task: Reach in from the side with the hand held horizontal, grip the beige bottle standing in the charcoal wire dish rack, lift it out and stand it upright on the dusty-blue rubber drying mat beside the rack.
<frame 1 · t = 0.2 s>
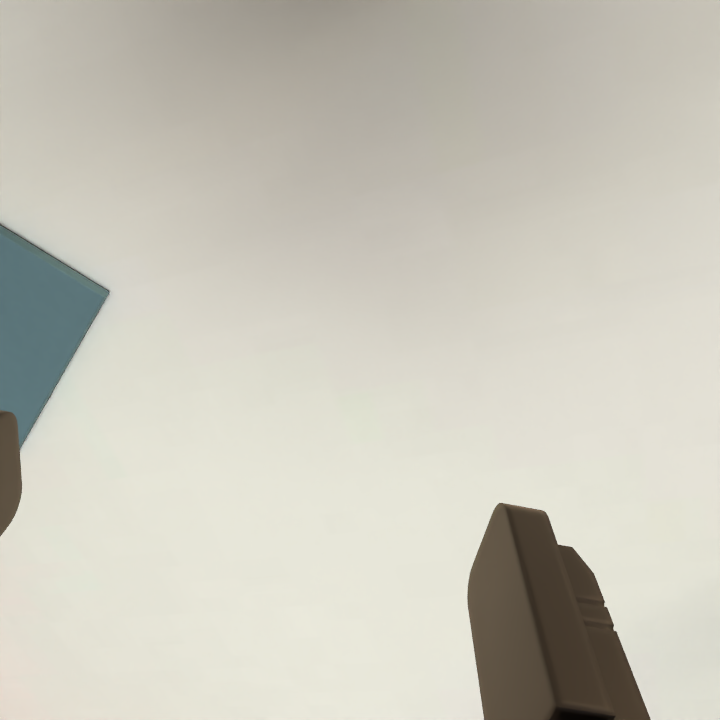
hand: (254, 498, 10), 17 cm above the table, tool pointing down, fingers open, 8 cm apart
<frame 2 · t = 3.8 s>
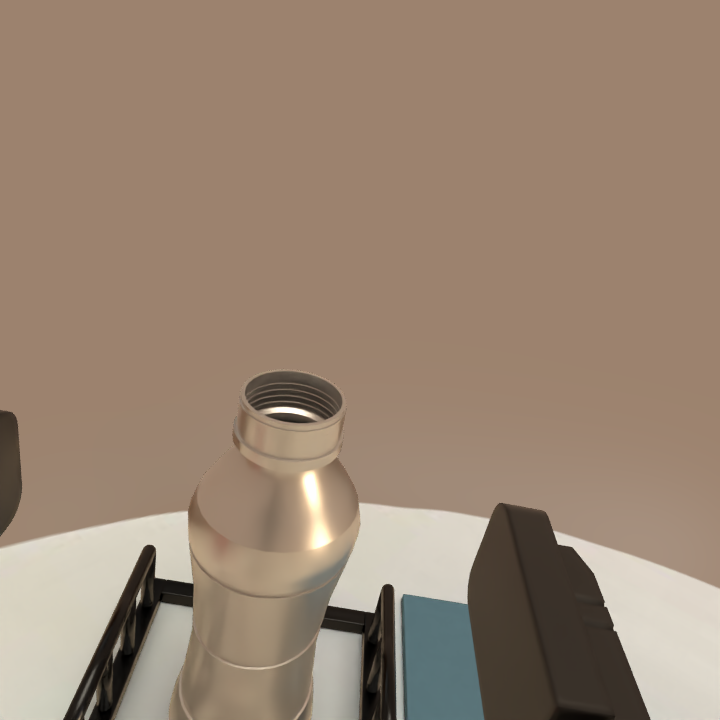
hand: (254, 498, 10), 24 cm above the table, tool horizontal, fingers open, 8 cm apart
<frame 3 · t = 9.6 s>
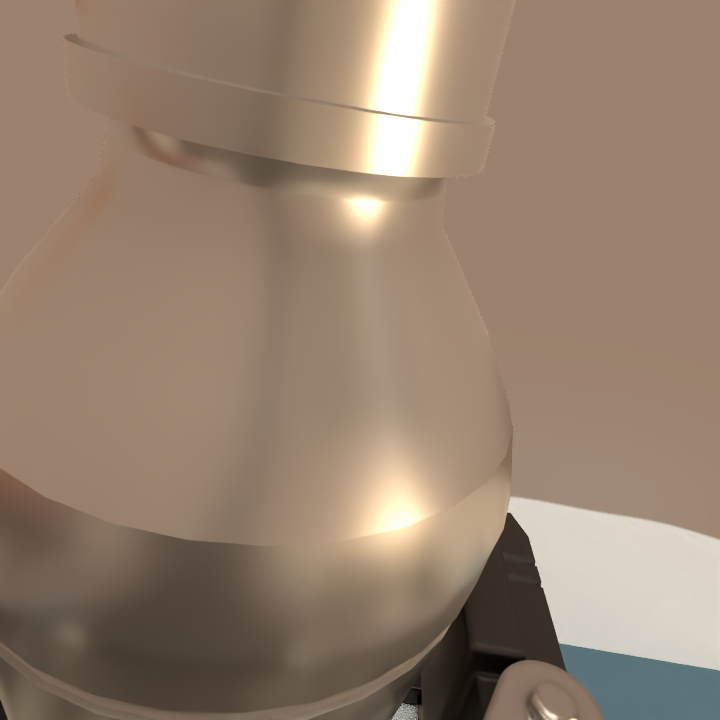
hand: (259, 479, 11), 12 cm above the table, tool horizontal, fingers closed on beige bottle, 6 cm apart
when the fingers open (13 cm above the table, at t = 18.5 s): beige bottle stays where it is, resting on drying mat.
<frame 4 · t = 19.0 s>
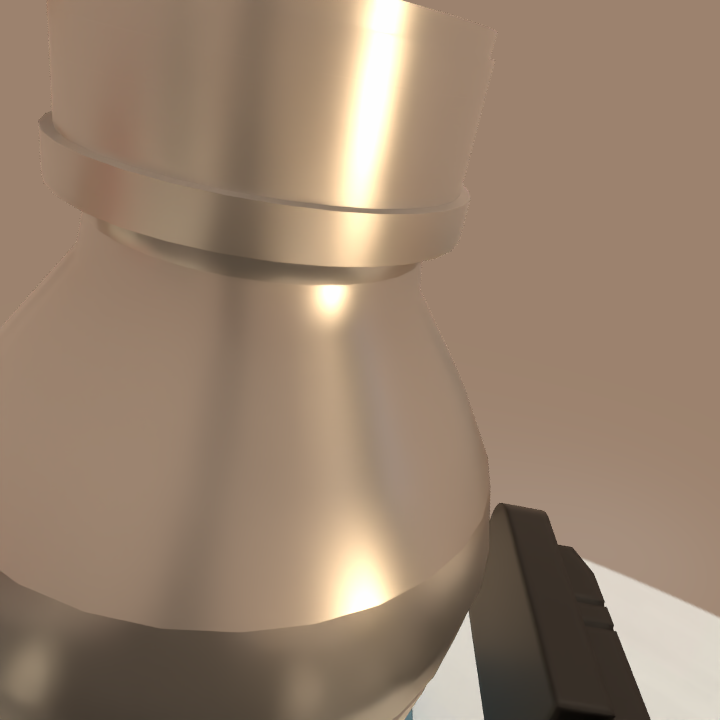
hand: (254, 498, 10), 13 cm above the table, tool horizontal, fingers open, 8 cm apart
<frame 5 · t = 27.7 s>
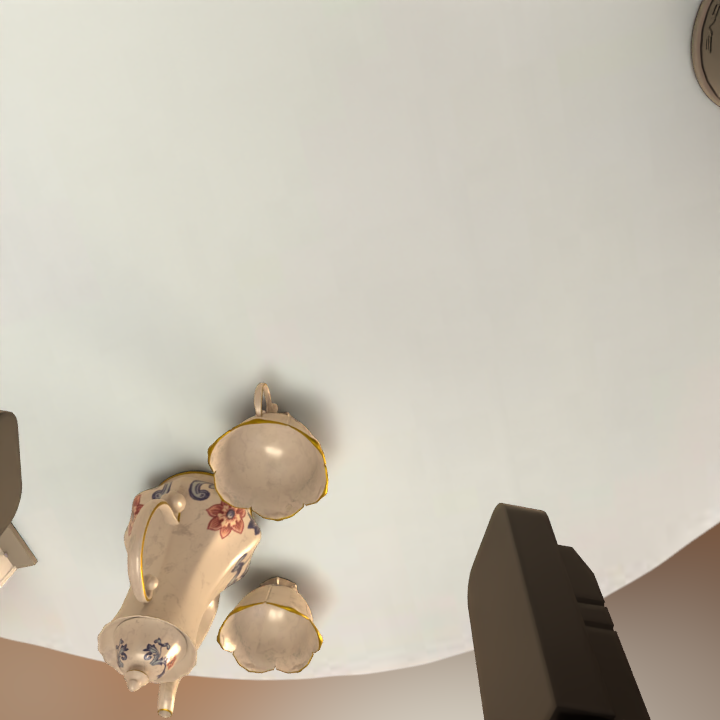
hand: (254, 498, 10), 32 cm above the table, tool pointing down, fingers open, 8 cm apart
chinaware: (238, 512, 53), on the table
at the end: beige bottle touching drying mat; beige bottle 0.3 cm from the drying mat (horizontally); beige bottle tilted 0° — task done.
